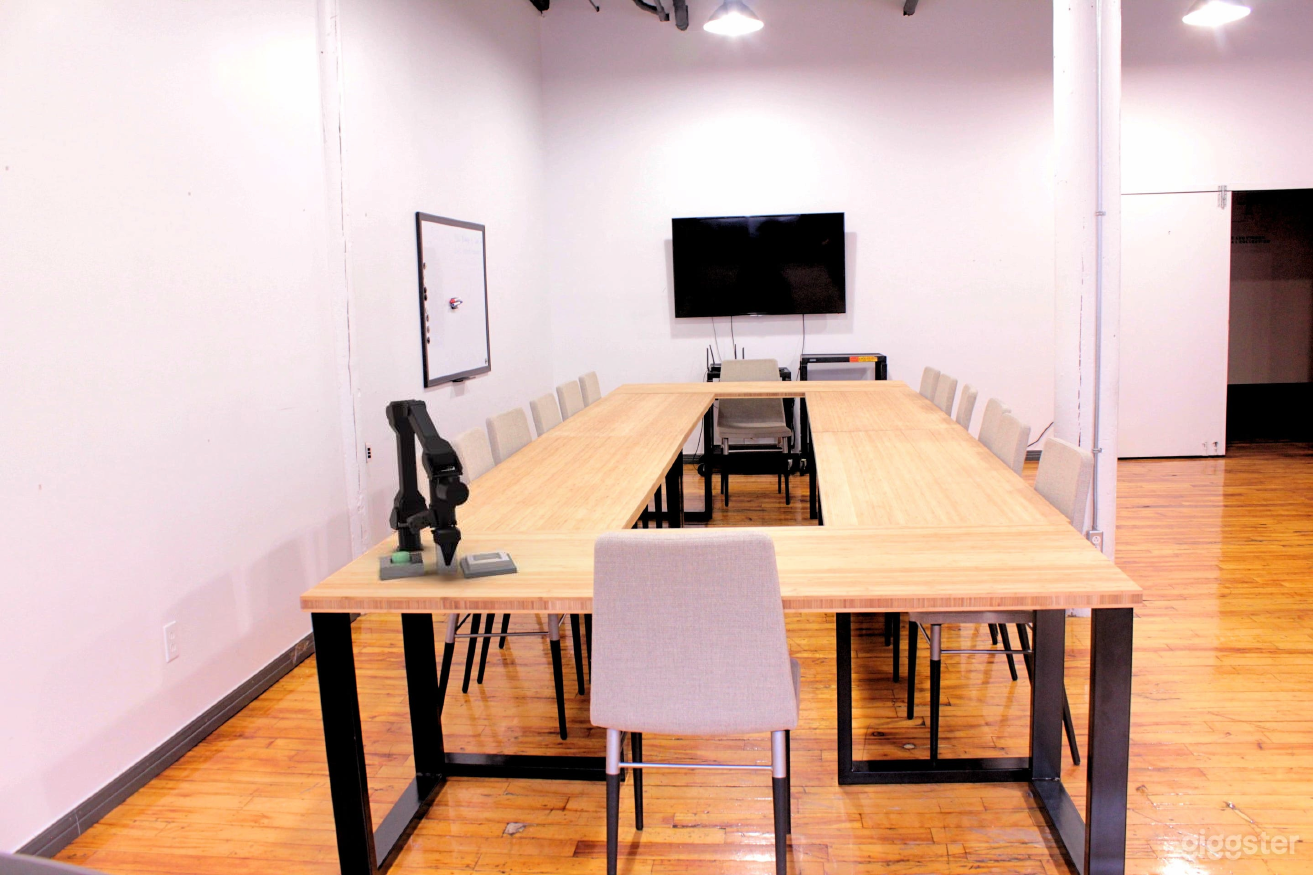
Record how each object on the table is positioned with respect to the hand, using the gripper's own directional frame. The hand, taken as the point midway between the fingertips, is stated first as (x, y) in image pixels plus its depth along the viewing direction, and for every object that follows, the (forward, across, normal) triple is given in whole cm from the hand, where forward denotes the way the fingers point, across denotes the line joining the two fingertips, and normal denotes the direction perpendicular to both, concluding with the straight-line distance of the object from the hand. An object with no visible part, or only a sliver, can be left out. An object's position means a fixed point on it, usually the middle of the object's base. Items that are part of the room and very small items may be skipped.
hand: (446, 562), depth 237 cm
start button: (+1, -3, -10) cm, 11 cm away
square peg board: (+2, -4, -10) cm, 11 cm away
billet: (+2, 0, 0) cm, 2 cm away
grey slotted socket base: (+2, +2, +10) cm, 10 cm away
